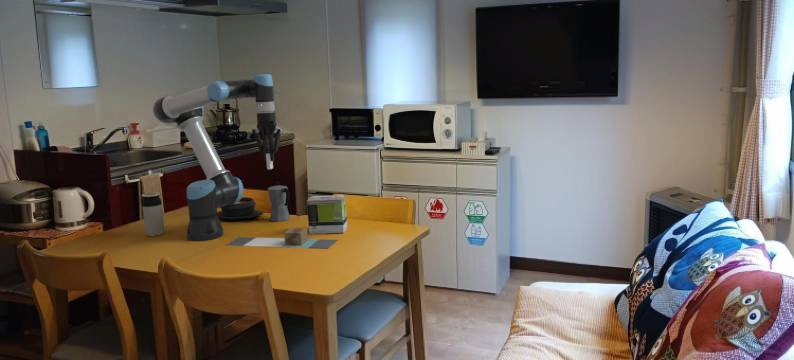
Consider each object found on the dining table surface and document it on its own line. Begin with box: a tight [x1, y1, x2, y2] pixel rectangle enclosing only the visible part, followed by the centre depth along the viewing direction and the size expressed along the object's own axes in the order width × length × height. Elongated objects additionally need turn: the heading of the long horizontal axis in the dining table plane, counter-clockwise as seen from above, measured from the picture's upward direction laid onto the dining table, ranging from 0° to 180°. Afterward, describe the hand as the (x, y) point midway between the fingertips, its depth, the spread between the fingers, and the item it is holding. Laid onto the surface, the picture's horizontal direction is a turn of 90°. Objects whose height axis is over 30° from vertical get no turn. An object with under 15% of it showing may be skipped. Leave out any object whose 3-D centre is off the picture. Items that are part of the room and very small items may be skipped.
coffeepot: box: [267, 181, 291, 223], centre depth 305 cm, size 15×9×18 cm, turn 43°
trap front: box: [308, 238, 339, 250], centre depth 263 cm, size 8×12×1 cm, turn 166°
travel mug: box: [141, 192, 166, 236], centre depth 288 cm, size 8×8×18 cm
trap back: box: [225, 236, 256, 247], centre depth 271 cm, size 8×12×1 cm, turn 166°
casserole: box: [217, 196, 265, 221], centre depth 314 cm, size 25×19×8 cm
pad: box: [279, 238, 320, 249], centre depth 265 cm, size 12×12×1 cm
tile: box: [242, 237, 285, 248], centre depth 269 cm, size 16×12×1 cm
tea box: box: [306, 194, 348, 235], centre depth 282 cm, size 15×10×15 cm
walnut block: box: [284, 227, 309, 245], centre depth 265 cm, size 7×7×5 cm
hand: (270, 168), depth 275 cm, fingers closed
